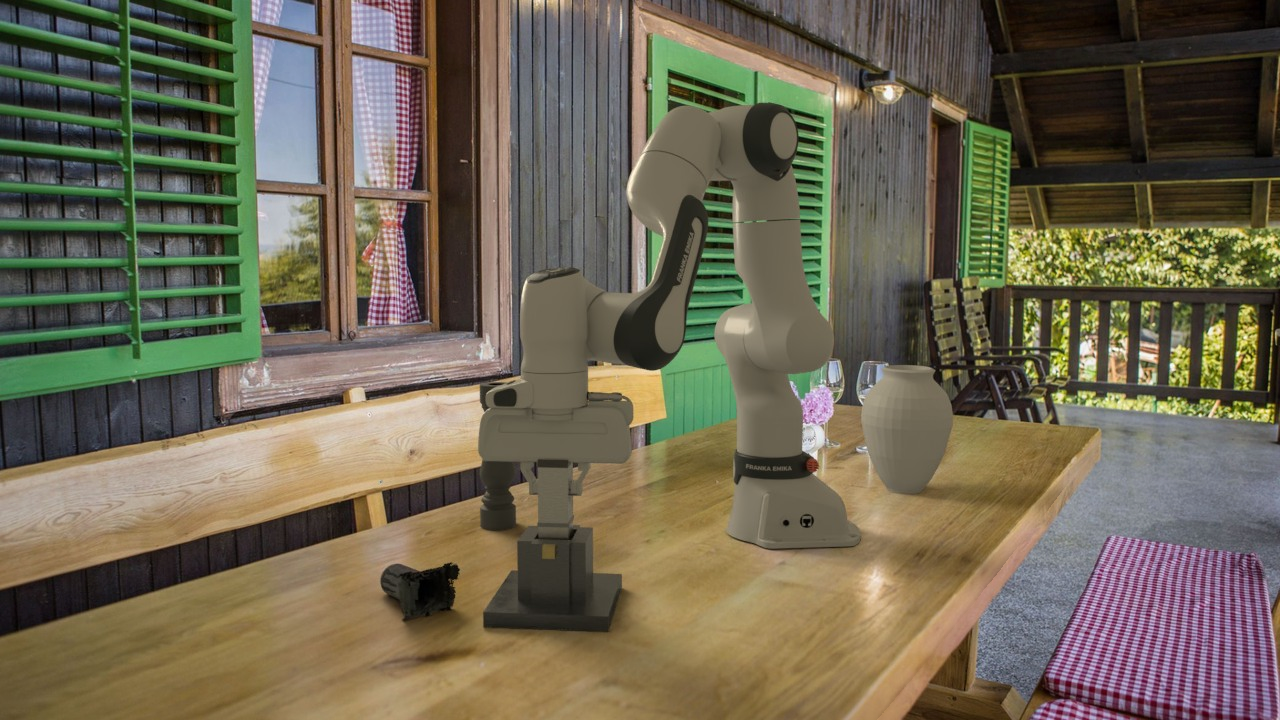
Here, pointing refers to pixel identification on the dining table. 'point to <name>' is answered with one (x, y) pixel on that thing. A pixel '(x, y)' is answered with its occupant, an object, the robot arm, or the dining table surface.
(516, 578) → the stand
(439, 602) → the dark flanged cylinder
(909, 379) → the vase
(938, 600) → the dining table surface
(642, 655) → the dining table surface
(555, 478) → the column
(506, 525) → the candle holder
